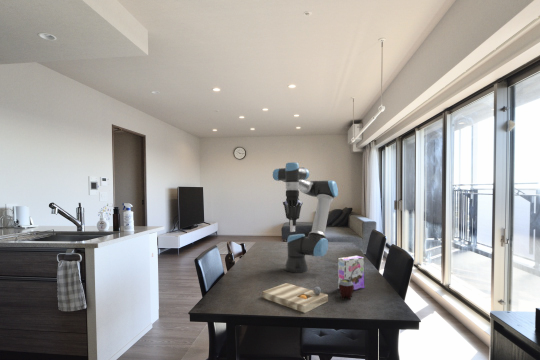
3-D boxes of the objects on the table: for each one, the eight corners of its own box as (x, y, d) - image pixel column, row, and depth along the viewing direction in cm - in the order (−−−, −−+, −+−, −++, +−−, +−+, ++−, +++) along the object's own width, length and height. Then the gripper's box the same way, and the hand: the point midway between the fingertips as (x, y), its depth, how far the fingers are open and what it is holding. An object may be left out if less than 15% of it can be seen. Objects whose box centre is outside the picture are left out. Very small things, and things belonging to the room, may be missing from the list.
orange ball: (297, 302, 135) (297, 294, 135) (302, 300, 137) (302, 292, 137) (303, 305, 132) (304, 297, 132) (308, 302, 135) (308, 295, 135)
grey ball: (312, 294, 137) (311, 286, 137) (316, 292, 140) (316, 285, 140) (318, 296, 134) (318, 288, 135) (322, 294, 137) (322, 286, 137)
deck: (262, 297, 142) (262, 291, 142) (286, 288, 154) (286, 282, 155) (304, 313, 123) (304, 305, 124) (328, 301, 136) (328, 294, 136)
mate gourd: (336, 296, 143) (335, 265, 144) (349, 293, 146) (348, 263, 147) (345, 301, 136) (345, 269, 137) (359, 298, 139) (358, 267, 140)
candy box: (345, 292, 148) (344, 260, 149) (337, 288, 154) (337, 257, 154) (365, 288, 155) (364, 257, 155) (357, 284, 160) (356, 254, 161)
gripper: (279, 189, 165) (279, 231, 165) (297, 189, 156) (297, 233, 155) (287, 189, 171) (288, 229, 170) (305, 189, 162) (306, 231, 161)
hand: (292, 231), depth 163 cm, fingers closed
